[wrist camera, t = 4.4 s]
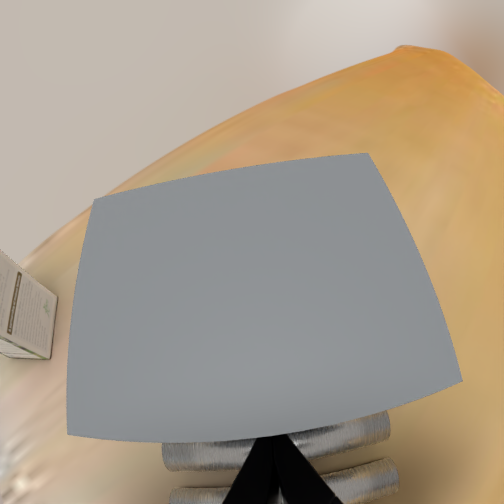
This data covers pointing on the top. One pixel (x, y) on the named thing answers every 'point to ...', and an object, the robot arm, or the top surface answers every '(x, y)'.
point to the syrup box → (24, 313)
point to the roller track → (311, 446)
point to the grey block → (251, 306)
